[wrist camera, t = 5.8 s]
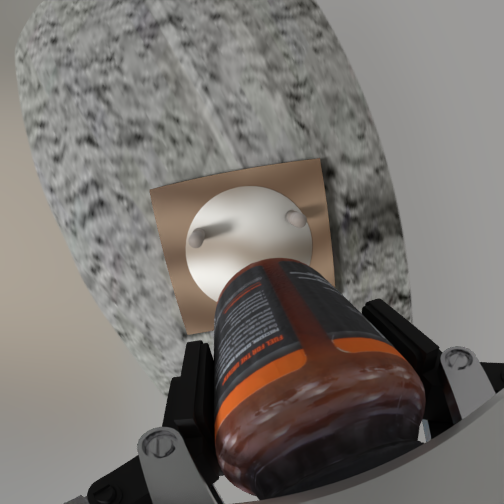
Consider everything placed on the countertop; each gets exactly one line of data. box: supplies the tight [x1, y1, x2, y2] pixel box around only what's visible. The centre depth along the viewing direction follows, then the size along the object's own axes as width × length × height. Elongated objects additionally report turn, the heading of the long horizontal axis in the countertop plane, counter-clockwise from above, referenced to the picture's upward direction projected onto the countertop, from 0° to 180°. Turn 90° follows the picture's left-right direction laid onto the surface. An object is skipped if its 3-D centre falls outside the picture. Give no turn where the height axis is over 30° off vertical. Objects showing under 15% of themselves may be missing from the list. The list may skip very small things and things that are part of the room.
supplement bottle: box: [214, 258, 426, 500], centre depth 8 cm, size 6×6×11 cm
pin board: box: [150, 158, 335, 335], centre depth 25 cm, size 15×16×4 cm
